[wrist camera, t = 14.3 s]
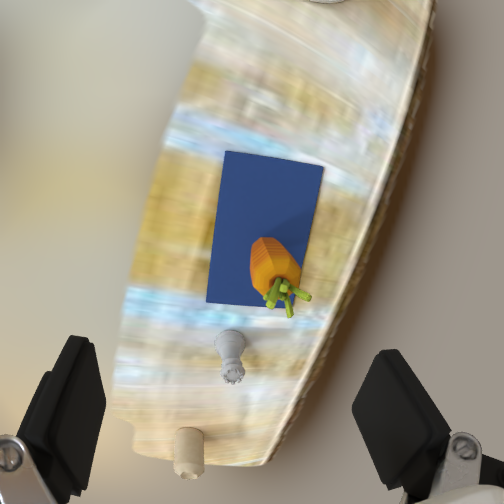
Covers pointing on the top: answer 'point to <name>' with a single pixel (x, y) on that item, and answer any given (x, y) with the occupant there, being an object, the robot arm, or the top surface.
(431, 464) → the robot arm
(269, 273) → the carrot
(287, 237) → the napkin
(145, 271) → the top surface
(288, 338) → the top surface
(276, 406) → the top surface
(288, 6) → the top surface
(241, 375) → the rook chess piece
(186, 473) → the candle
